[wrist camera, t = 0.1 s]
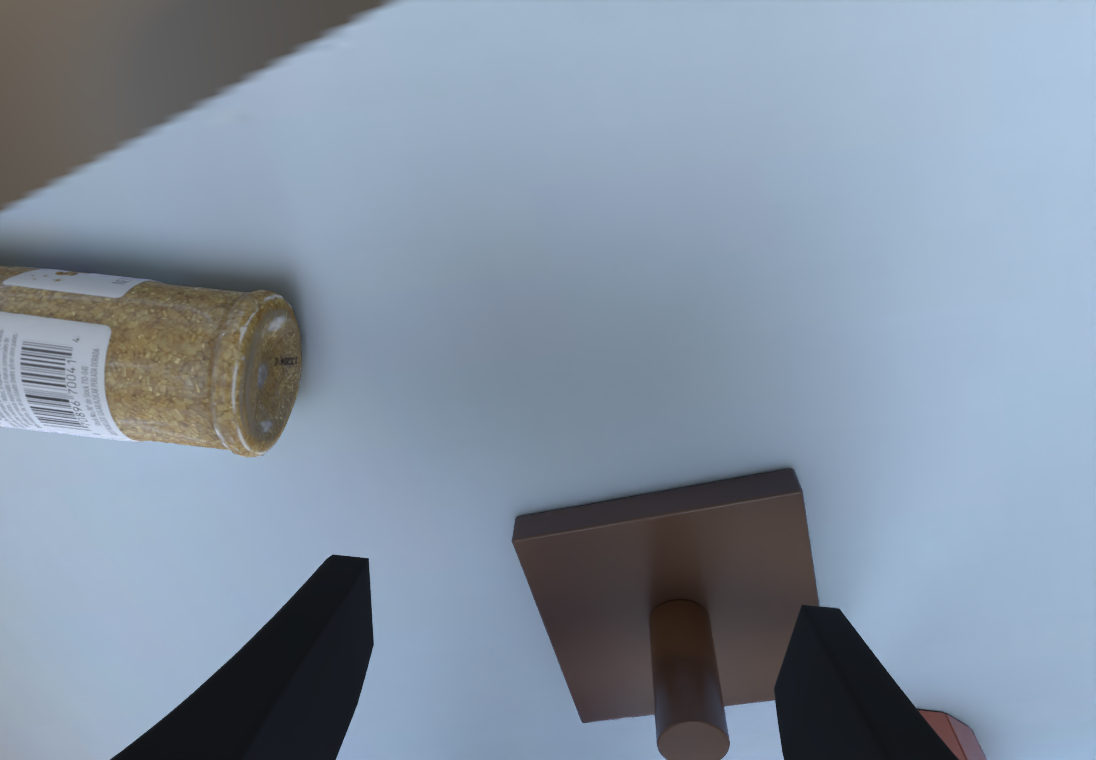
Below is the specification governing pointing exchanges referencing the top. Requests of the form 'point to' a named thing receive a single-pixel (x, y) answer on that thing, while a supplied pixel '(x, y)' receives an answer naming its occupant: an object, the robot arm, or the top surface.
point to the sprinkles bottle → (146, 360)
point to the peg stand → (673, 601)
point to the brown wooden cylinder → (955, 735)
